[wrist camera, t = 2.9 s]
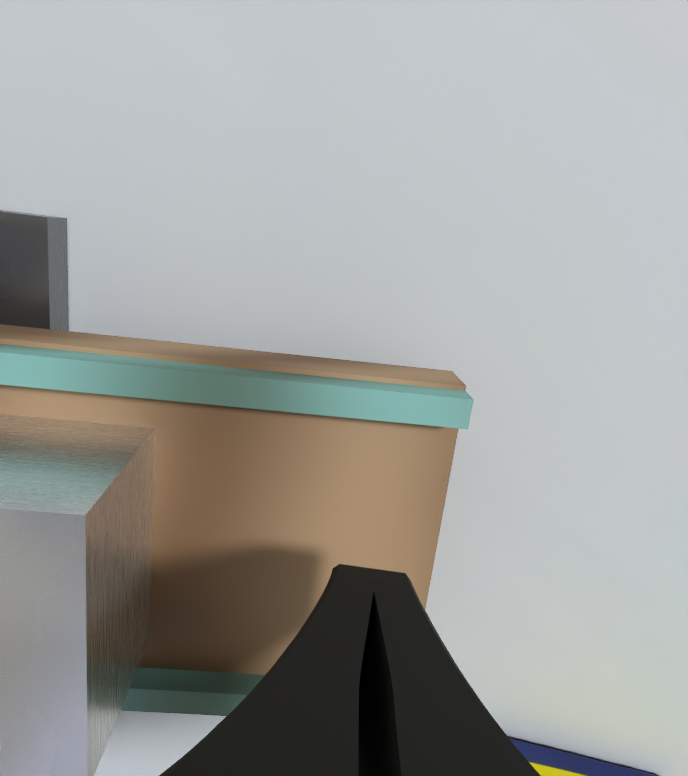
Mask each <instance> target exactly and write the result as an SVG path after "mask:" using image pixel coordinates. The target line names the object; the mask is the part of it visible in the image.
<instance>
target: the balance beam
mask: <svg viewBox="0 0 688 776" xmlns="http://www.w3.org/2000/svg"><path fill="white" fill-rule="evenodd" d="M465 389H466V385H465V384H464V383H463V382H462V381H461V380H460V379H459V378H458V377H457V376H456V375H455V374H454V373H453V372H452V371H445V370H435V369H426V368H416V367H406V366H397V365H387V364H378V363H368V362H358V361H349V360H339V359H330V358H320V357H310V356H301V355H291V354H281V353H272V352H262V351H253V350H243V349H233V348H224V347H214V346H205V345H195V344H185V343H176V342H166V341H156V340H147V339H137V338H128V337H118V336H108V335H99V334H89V333H80V332H70V331H60V330H51V329H41V328H31V327H22V326H12V325H3V324H0V414H8V415H19V416H30V417H41V418H52V419H63V420H74V421H84V422H95V423H106V424H117V425H128V426H139V427H150V428H155V461H154V497H153V534H152V570H151V606H150V639H149V641H148V644H147V646H146V649H145V651H144V653H143V656H142V658H141V661H140V663H139V666H138V668H137V671H136V673H135V676H134V678H133V681H132V683H131V686H130V688H129V691H128V693H127V695H126V698H125V700H124V703H123V705H122V708H121V710H126V711H145V712H164V713H183V714H202V715H221V716H228V715H229V714H230V713H231V712H232V711H233V710H234V709H235V708H236V707H237V706H238V705H239V704H240V702H241V701H242V700H243V699H244V698H245V697H246V696H247V695H248V694H249V693H250V692H251V691H252V690H253V689H254V687H255V686H256V685H257V684H258V683H259V682H260V681H261V679H262V678H263V677H264V676H265V675H266V674H267V672H268V671H269V670H270V669H271V668H272V666H273V665H274V664H275V663H276V661H277V660H278V659H279V657H280V656H281V655H282V653H283V652H284V651H285V650H286V648H287V647H288V646H289V644H290V643H291V642H292V640H293V639H294V638H295V636H296V635H297V634H298V632H299V631H300V629H301V628H302V626H303V625H304V623H305V621H306V620H307V618H308V617H309V615H310V614H311V612H312V611H313V609H314V608H315V606H316V604H317V602H318V601H319V599H320V597H321V595H322V593H323V592H324V590H325V588H326V585H327V583H328V581H329V579H330V576H331V573H332V569H333V568H334V567H336V566H337V565H339V564H344V565H351V566H358V567H366V568H373V569H380V570H387V571H394V572H401V573H406V575H407V576H408V577H409V579H410V580H411V582H412V585H413V587H414V589H415V591H416V593H417V595H418V597H419V600H420V602H421V604H422V606H423V607H424V609H425V607H426V601H427V596H428V591H429V585H430V580H431V574H432V569H433V563H434V558H435V552H436V547H437V542H438V536H439V531H440V525H441V520H442V514H443V509H444V504H445V498H446V493H447V487H448V482H449V476H450V471H451V465H452V460H453V455H454V449H455V444H456V438H457V433H458V428H460V429H468V425H469V420H470V415H471V409H472V404H473V399H472V398H471V397H470V395H469V394H468V393H467V392H466V391H465Z"/></svg>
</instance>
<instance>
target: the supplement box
mask: <svg viewBox="0 0 688 776" xmlns="http://www.w3.org/2000/svg"><path fill="white" fill-rule="evenodd" d="M509 739H510V740H511V741H512V743H513V744H514V745H515V746H516V748H517V749H518V750H519V751H520V753H521V754H522V755H523V756H524V757H525V758H526V759H527V761H528V762H529V763H530V764H531V765H532V766H533V767H534V769H535V770H536V771H537V772H538V773H539V774H540V775H541V776H659V775H654V774H651V773H646V772H643V771H640V770H637V769H632V768H627V767H621V766H618V765H615V764H611V763H606V762H602V761H598V760H595V759H591V758H587V757H583V756H579V755H575V754H571V753H567V752H563V751H559V750H556V749H552V748H547V747H542V746H539V745H535V744H531V743H527V742H524V741H519V740H515V739H511V738H509Z"/></svg>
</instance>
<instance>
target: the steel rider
mask: <svg viewBox="0 0 688 776" xmlns="http://www.w3.org/2000/svg"><path fill="white" fill-rule="evenodd" d="M154 461H155V428H150V427H139V426H128V425H117V424H106V423H95V422H84V421H74V420H63V419H52V418H41V417H30V416H19V415H8V414H0V776H94V774H95V772H96V769H97V767H98V765H99V762H100V760H101V757H102V755H103V752H104V750H105V747H106V745H107V742H108V740H109V737H110V735H111V732H112V730H113V728H114V725H115V723H116V720H117V718H118V715H119V713H120V710H121V708H122V705H123V703H124V700H125V698H126V695H127V693H128V691H129V688H130V686H131V683H132V681H133V678H134V676H135V673H136V671H137V668H138V666H139V663H140V661H141V658H142V656H143V653H144V651H145V649H146V646H147V644H148V641H149V639H150V606H151V570H152V534H153V497H154Z"/></svg>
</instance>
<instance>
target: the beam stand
mask: <svg viewBox="0 0 688 776" xmlns="http://www.w3.org/2000/svg"><path fill="white" fill-rule="evenodd" d="M0 324H3V325H12V326H22V327H31V328H41V329H51V330H60V331H69V327H68V265H67V218H60V217H52V216H44V215H36V214H28V213H20V212H12V211H4V210H0Z"/></svg>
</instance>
